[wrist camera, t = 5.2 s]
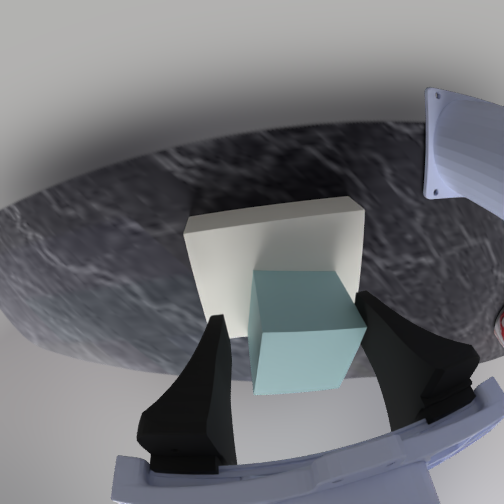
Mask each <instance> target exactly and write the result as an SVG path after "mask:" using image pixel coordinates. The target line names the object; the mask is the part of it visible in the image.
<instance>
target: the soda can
mask: <svg viewBox="0 0 504 504" xmlns="http://www.w3.org/2000/svg"><path fill="white" fill-rule="evenodd" d="M494 334H495V335H496V337H497V338H498V340H499V342H500V343H501V344H502V346H503V347H504V307H503V309H502V310H501V312H500V313H499V315H498V317H497V319H496V322H495V328H494Z"/></svg>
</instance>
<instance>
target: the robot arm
mask: <svg viewBox="0 0 504 504" xmlns="http://www.w3.org/2000/svg"><path fill="white" fill-rule="evenodd" d="M436 93H437V98H436V95H435V94H436ZM425 112H426V156H425V176H424V190H423V194H424V196H425V197H426V198H428V199H439V198H453V197H466V198H468V199H470V200H471V201H473V202H475V203H477V204H478V205H480V206H482V207H483V208H485V209H487V210H488V211H490V212H492V213H493V214H495V215H497V216H498V217H500V218H501V219H503V220H504V106H500V105H497V104H494V103H491V102H488V101H485V100H482V99H478V98H475V97H471V96H467V95H463V94H459V93H455V92H451V91H447V90H442V89H438V88H432V87H429V88H426V89H425ZM434 190H435V193H433V192H434ZM354 304H355V306H356V308H357V310H358V311H359V313H360V315H361V317H362V319H363V320H364V322H365V324H366V326H367V329H366V331H365V334H364V336H363V338H362V341H361V345H362V347H363V349H364V351H365V353H366V355H367V357H368V359H369V361H370V363H371V365H372V367H373V369H374V372H375V374H376V376H377V379H378V382H379V385H380V388H381V391H382V394H383V398H384V401H385V405H386V409H387V413H388V417H389V422H390V427H391V432H390V433H387V434H384V435H381V436H378V437H376V438H372V439H369V440H366V441H363V442H360V443H356V444H353V445H349V446H346V447H342V448H338V449H334V450H330V451H326V452H322V453H317V454H313V455H308V456H302V457H297V458H291V459H285V460H279V461H271V462H263V463H254V464H243V465H237V460H236V453H235V444H234V435H233V425H232V414H231V400H230V399H231V396H230V395H231V368H232V356H231V344H230V339H229V335H228V331H227V326H226V322H225V318H224V314H220V315H211V317H210V318H209V321H208V324H207V327H206V329H205V331H204V334H203V336H202V338H201V340H200V342H199V344H198V346H197V348H196V350H195V352H194V354H193V355H192V357H191V359H190V361H189V362H188V364H187V365H186V367H185V368H184V370H183V371H182V373H181V374H180V375H179V377H178V378H177V380H176V381H175V382H174V383H173V384H172V385H171V387H170V388H169V389H168V390H167V391H166V392H165V393H164V394H163V395H162V396H161V397H160V398H159V399H158V400H157V401H156V402H155V403H154V404H153V405H151V406H150V407H149V408H148V409H147V410H145V411H144V412H143V413H142V415H141V418H140V422H139V425H138V432H137V441H138V442H139V444H140V445H141V446H142V447H143V448H144V449H145V450H147V451H148V452H149V453H150V454H151V459H150V464H149V463H148V462H147V461H146V460H144V459H141V458H137V457H128V456H120V455H118V456H117V459H116V466H115V472H114V479H113V486H112V494H111V499H112V500H113V501H115V502H117V503H119V504H440V502H439V499H438V496H437V493H436V490H435V487H434V485H433V482H432V479H431V476H430V474H429V471H428V470H429V469H431V468H433V467H435V466H437V465H438V464H440V463H442V462H444V461H445V460H447V459H449V458H450V457H452V456H454V455H455V454H457V453H459V452H460V451H462V450H463V449H465V448H466V447H468V446H469V445H471V444H472V443H474V442H475V441H477V440H478V439H480V438H481V437H482V436H484V435H485V434H487V433H488V432H490V431H491V430H492V429H493V428H494V427H495V426H496V425H497V424H498V423H499V422H500V421H501V420H502V419H503V418H504V393H503V391H502V389H501V388H500V386H499V385H498V383H497V381H496V380H495V378H494V377H491V378H489V379H488V380H486V381H485V382H483V383H481V384H480V385H478V386H477V388H475V390H474V391H473V389H472V388H471V385H472V381H471V379H470V377H471V375H472V374H473V372H474V371H475V369H476V367H477V366H478V364H479V360H480V356H479V355H478V353H477V352H476V351H475V349H474V348H473V347H472V345H469V344H464V343H460V342H456V341H453V340H449V339H446V338H443V337H441V336H438V335H436V334H433V333H431V332H429V331H427V330H425V329H423V328H421V327H419V326H417V325H415V324H413V323H412V322H410V321H408V320H407V319H405V318H404V317H402V316H401V315H399V314H398V313H396V312H395V311H393V310H392V309H390V308H389V307H388V306H386V305H385V304H384V303H382V302H381V301H380V300H378V299H377V298H376V297H374V296H373V295H372V294H370V293H369V292H368V291H362V292H357V293H356V295H355V303H354Z"/></svg>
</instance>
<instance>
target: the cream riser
mask: <svg viewBox="0 0 504 504" xmlns="http://www.w3.org/2000/svg"><path fill="white" fill-rule="evenodd" d="M364 217H365V210H364V209H363V208H362V207H361V206H360V205H358V204H357V203H356V202H355V201H354V200H352V199H351V198H350V197H349V196H344V197H334V198H325V199H315V200H306V201H298V202H289V203H281V204H273V205H265V206H258V207H250V208H243V209H236V210H229V211H222V212H216V213H209V214H203V215H197V216H190V217H189V219H188V222H187V225H186V228H185V231H184V238H185V243H186V247H187V251H188V255H189V259H190V262H191V266H192V270H193V274H194V278H195V281H196V285H197V289H198V292H199V296H200V300H201V303H202V307H203V310H204V314H205V317H206V320H207V324H208V321H209V318H210V317H211V315H220V314H224V318H225V322H226V326H227V331H228V335H229V338H236V337H244V336H248V322H249V311H250V300H251V288H252V277H253V270H262V271H336V273H337V275H338V276H339V278H340V280H341V282H342V283H343V285H344V287H345V288H346V290H347V292H348V294H349V295H350V297H351V299H352V301H353V302H354V303H355V295H356V293H357V292H358V288H359V280H360V270H361V260H362V248H363V234H364Z"/></svg>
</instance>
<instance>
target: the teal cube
mask: <svg viewBox="0 0 504 504" xmlns="http://www.w3.org/2000/svg"><path fill="white" fill-rule="evenodd" d="M366 329H367V326H366V324H365V322H364V320H363V319H362V317H361V315H360V313H359V311H358V310H357V308H356V306H355V304H354V302H353V301H352V299H351V297H350V295H349V294H348V292H347V290H346V288H345V287H344V285H343V283H342V282H341V280H340V278H339V276H338V275H337V273H336V271H262V270H253V277H252V288H251V300H250V311H249V322H248V343H249V354H250V364H251V373H252V383H253V393H254V395H268V394H286V393H298V392H310V391H319V390H326V389H334V388H339V386H340V384H341V382H342V381H343V379H344V377H345V375H346V373H347V371H348V369H349V367H350V365H351V362H352V360H353V358H354V356H355V354H356V352H357V350H358V347H359V345H360V343H361V341H362V338H363V336H364V334H365V331H366Z"/></svg>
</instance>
